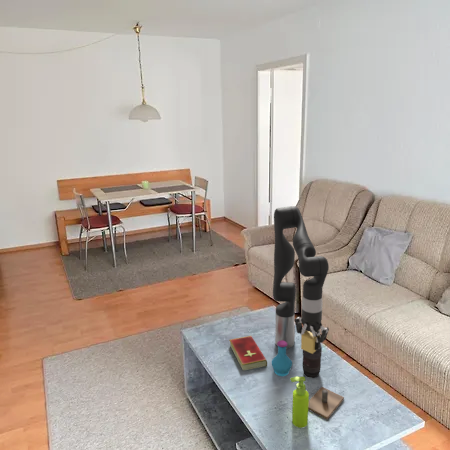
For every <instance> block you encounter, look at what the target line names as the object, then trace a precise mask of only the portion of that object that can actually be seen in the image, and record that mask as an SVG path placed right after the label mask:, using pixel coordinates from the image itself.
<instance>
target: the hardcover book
mask: <svg viewBox="0 0 450 450" xmlns="http://www.w3.org/2000/svg"><path fill="white" fill-rule="evenodd" d="M228 341H229V344H230V345H229V346H230V348H231V350H232V352H233V354H234V356H235V358H236V360H237V362H238V364H239V366H240V367H241V369H242V371H243V372H244V371H248V370H252V369H257V368H258V369H259V368H262V367H267V366H268V360H267V358H266V357H265V356H264V354H263V352H262V351H261V348H260V347H259V346H258V344H257V343H256V340H255V339H254V337H253V335H247V336H241V337H237V338H232V339H228Z"/></svg>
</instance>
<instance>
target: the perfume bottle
mask: <svg viewBox="0 0 450 450" xmlns="http://www.w3.org/2000/svg"><path fill="white" fill-rule="evenodd" d="M277 345H278V346H277ZM277 345H276V346H277V354H276V355H275V356H273V358H272V359H271V367H272V368H273V369H272V370H273V371H274V374H276V375H277V376H279V377H286V376H288V375H289V373H290V371H291V369H292V366H293V361H292V359H291V358H290V357H289V356H288V355H287V348H286V347H287V342H285V341H283V340H281V341H279V342H277Z"/></svg>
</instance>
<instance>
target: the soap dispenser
mask: <svg viewBox="0 0 450 450" xmlns="http://www.w3.org/2000/svg"><path fill="white" fill-rule="evenodd" d="M290 381H291V383H295V382H298V383H296V385H295V386H296V388H295V389H294V390H293V391H292V405H291V406H292V410H291V411H292V412H291V413H292V414H291V415H292V416H291V423H292V425H293V426H294V427H295V428H298V429H303V428H305V427H307V426H308V424H309V421H308V420H309V410H308V404H309V400H310V399H309V398H310V394H309V391H308V390H306V389H307V386H306V384H305V383H304V382H306V377H305V375H304V376H293V377H290Z"/></svg>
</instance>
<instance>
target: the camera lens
mask: <svg viewBox="0 0 450 450" xmlns="http://www.w3.org/2000/svg"><path fill="white" fill-rule="evenodd" d="M322 350H323V347H322V344H320V348H319V349H318V350H317V351H315V352H314V353H313V354H312V353H309V352H307V351H305V350H303V349H302V372H303V374H304V377H305V376H306V377H307V378H309V379H316V378H317V377H319V375H320V372H321V368H322V366H321V364H322V361H321V360H322Z"/></svg>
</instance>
